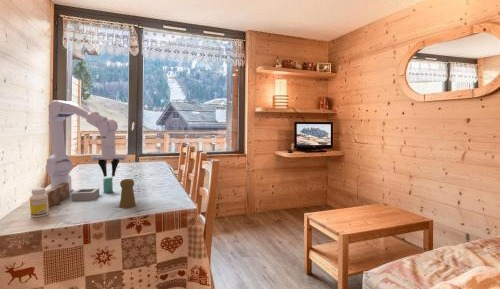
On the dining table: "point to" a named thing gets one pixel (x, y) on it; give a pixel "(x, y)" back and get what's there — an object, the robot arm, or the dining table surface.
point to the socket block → (85, 194)
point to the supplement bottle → (39, 203)
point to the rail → (57, 193)
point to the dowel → (108, 185)
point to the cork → (127, 194)
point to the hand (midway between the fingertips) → (109, 176)
